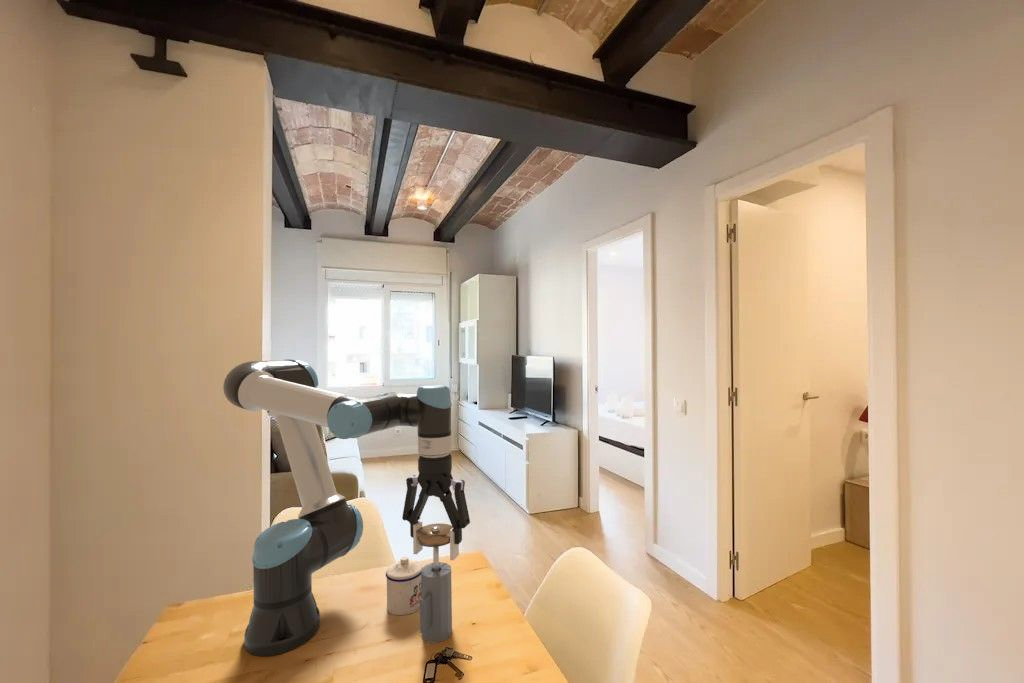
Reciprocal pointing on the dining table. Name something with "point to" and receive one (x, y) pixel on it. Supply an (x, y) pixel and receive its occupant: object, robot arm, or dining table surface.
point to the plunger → (434, 539)
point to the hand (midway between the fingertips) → (436, 554)
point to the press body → (436, 603)
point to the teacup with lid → (404, 586)
